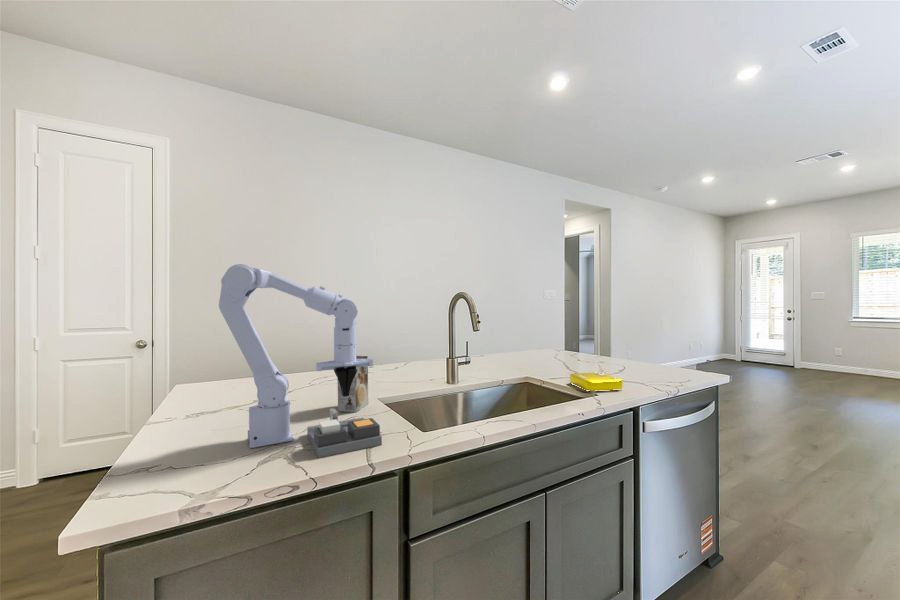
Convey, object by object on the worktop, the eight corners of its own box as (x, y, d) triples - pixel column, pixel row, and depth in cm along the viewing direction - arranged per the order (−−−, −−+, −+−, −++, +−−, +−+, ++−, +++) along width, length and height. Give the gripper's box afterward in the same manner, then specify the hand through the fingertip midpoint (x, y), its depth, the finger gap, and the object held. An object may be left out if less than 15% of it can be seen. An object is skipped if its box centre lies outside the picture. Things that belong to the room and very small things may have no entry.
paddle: (333, 428, 93) (332, 413, 93) (329, 424, 97) (329, 408, 97) (337, 428, 94) (337, 412, 94) (334, 423, 98) (334, 408, 98)
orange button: (357, 435, 88) (357, 426, 88) (353, 429, 92) (353, 421, 92) (373, 432, 90) (373, 423, 90) (369, 427, 94) (368, 419, 94)
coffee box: (350, 403, 124) (350, 355, 124) (368, 404, 123) (368, 355, 123) (337, 411, 115) (336, 360, 115) (356, 412, 114) (355, 360, 114)
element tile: (568, 384, 151) (568, 372, 151) (601, 382, 153) (601, 370, 153) (588, 393, 136) (588, 380, 136) (625, 391, 139) (625, 378, 139)
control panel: (318, 458, 82) (318, 437, 82) (307, 434, 96) (307, 417, 96) (381, 444, 89) (381, 426, 89) (363, 424, 103) (362, 408, 103)
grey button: (322, 435, 85) (322, 427, 85) (319, 430, 88) (319, 422, 88) (340, 432, 86) (340, 424, 86) (336, 427, 90) (336, 419, 90)
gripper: (319, 348, 92) (319, 402, 92) (376, 344, 99) (376, 395, 99) (314, 344, 98) (315, 396, 98) (368, 341, 105) (369, 389, 105)
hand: (345, 395), depth 99 cm, fingers closed
